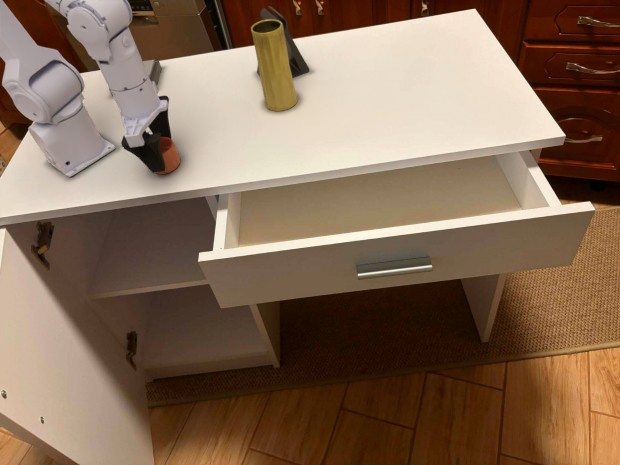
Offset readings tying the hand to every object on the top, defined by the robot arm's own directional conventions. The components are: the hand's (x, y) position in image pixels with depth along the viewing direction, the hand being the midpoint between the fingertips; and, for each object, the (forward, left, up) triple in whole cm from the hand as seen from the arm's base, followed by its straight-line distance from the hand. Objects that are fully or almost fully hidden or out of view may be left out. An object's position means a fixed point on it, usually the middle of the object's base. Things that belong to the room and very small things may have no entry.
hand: (162, 155), depth 78 cm
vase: (+24, -4, -2) cm, 24 cm away
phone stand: (+32, +3, -2) cm, 32 cm away
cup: (0, 0, -2) cm, 2 cm away
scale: (+14, +29, -2) cm, 32 cm away
